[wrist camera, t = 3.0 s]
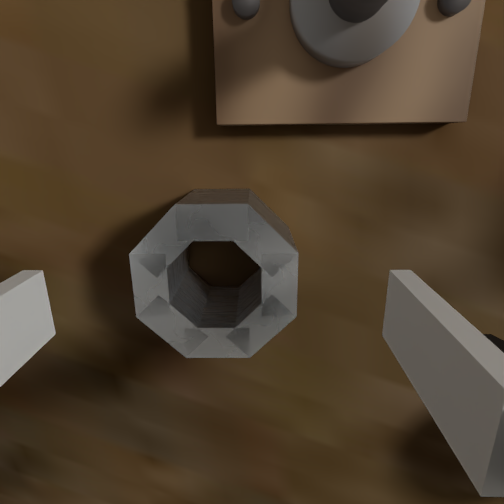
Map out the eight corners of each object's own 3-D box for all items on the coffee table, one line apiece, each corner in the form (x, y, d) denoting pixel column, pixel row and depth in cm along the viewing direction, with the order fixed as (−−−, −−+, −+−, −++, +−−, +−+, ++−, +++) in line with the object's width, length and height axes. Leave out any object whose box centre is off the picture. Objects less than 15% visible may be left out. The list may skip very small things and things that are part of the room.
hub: (166, 310, 22) (141, 357, 17) (155, 189, 20) (123, 204, 15) (286, 310, 22) (295, 357, 17) (289, 188, 20) (299, 203, 15)
